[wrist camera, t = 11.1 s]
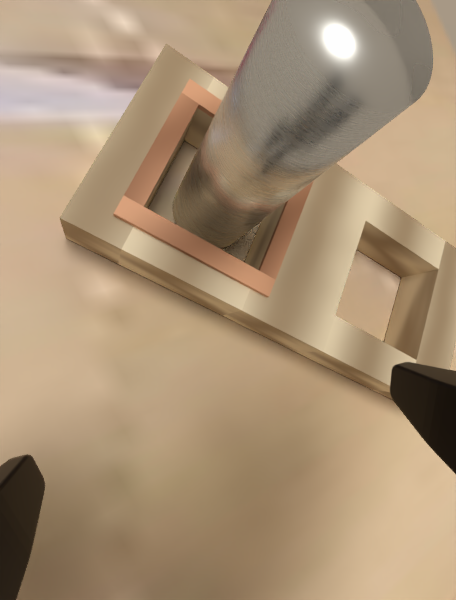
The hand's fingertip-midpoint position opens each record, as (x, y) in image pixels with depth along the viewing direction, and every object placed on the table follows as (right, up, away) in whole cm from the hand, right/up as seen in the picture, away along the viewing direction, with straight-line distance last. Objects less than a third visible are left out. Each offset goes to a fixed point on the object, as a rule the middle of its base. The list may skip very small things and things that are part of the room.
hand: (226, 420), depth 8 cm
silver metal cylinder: (-1, +8, +12) cm, 15 cm away
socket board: (+4, +6, +14) cm, 16 cm away
